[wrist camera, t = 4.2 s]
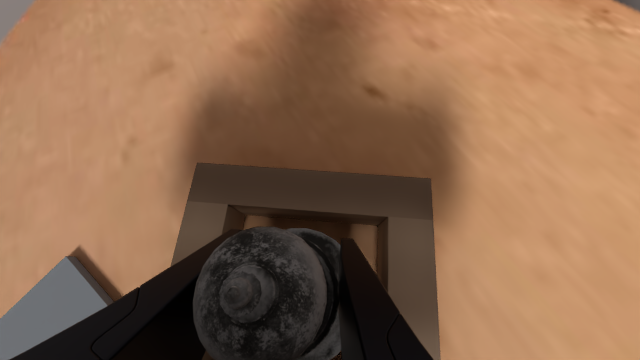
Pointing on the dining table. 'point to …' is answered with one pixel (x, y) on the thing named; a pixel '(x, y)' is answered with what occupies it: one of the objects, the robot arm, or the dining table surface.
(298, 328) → the grey chess piece
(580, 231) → the dining table surface
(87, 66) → the dining table surface
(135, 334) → the robot arm
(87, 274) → the coaster
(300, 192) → the collar
